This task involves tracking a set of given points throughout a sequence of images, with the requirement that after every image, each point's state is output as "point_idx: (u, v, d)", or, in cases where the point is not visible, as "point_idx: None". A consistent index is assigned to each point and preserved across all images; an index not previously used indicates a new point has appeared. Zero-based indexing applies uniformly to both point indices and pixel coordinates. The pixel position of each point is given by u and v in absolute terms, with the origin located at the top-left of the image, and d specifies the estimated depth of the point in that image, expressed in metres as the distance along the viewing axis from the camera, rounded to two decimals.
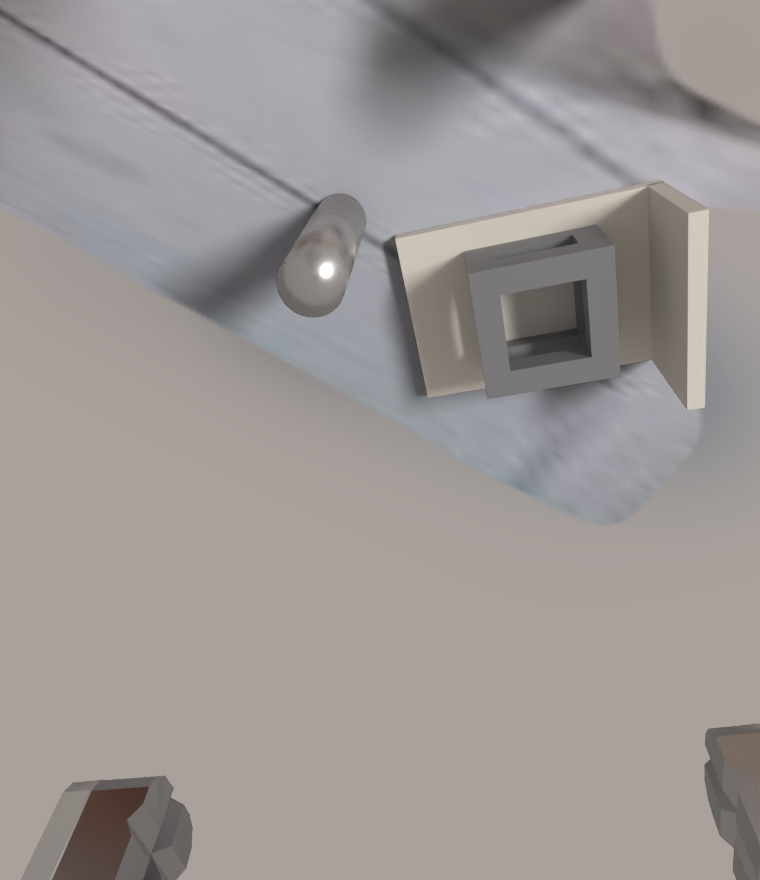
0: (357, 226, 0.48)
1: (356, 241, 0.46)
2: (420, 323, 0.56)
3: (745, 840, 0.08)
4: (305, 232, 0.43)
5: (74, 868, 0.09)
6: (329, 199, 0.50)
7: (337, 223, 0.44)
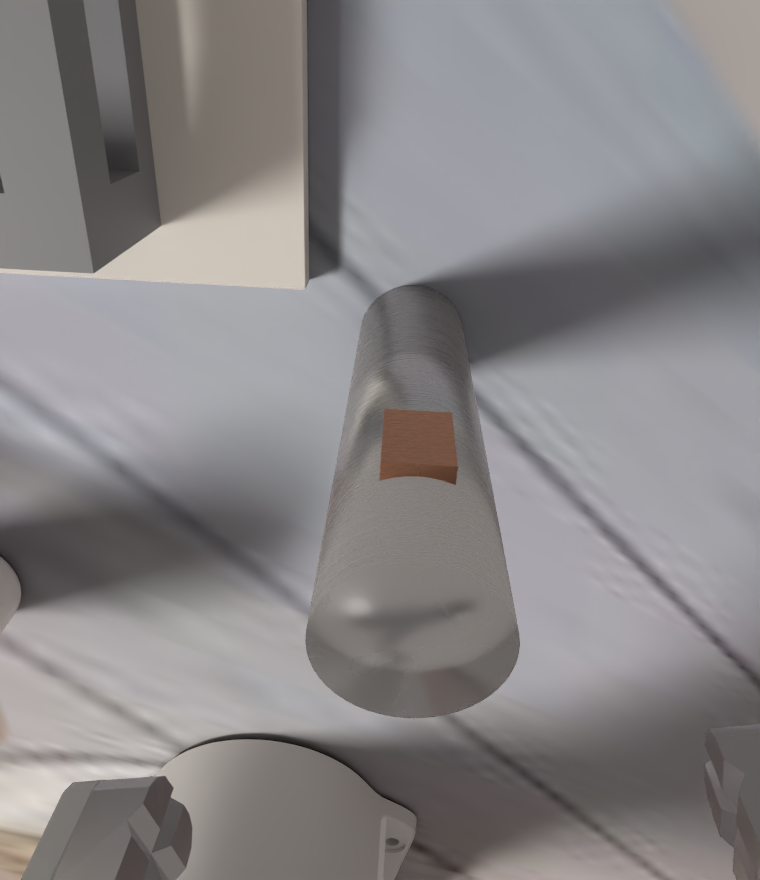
0: None
1: None
2: (281, 62, 0.21)
3: (745, 840, 0.08)
4: None
5: (74, 868, 0.09)
6: None
7: None
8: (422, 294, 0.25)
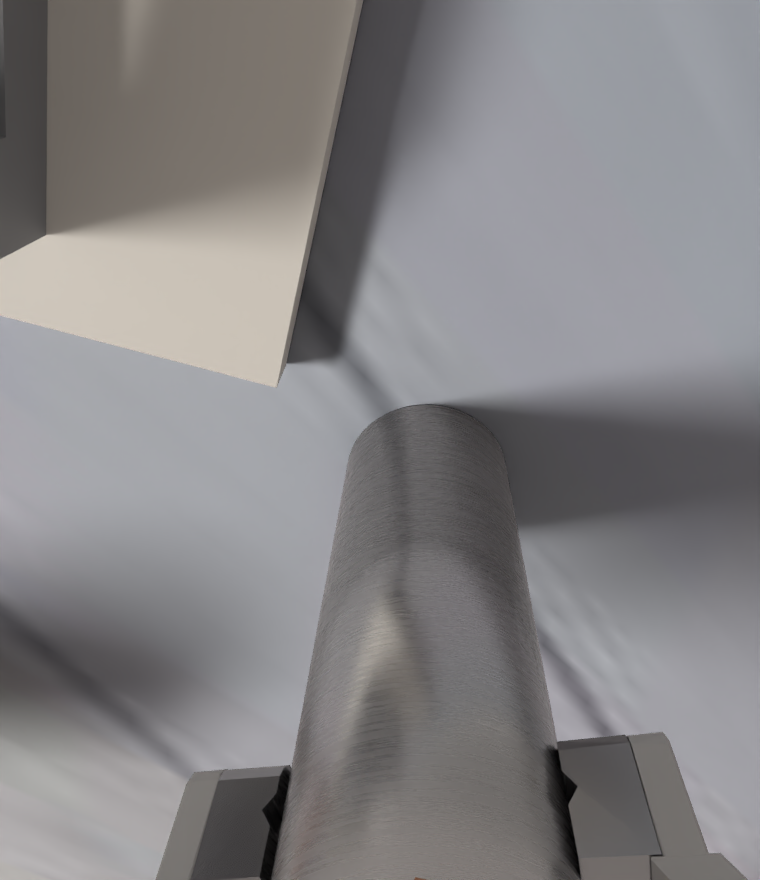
0: None
1: (298, 731, 0.10)
2: None
3: None
4: None
5: (215, 859, 0.09)
6: None
7: None
8: (462, 431, 0.15)
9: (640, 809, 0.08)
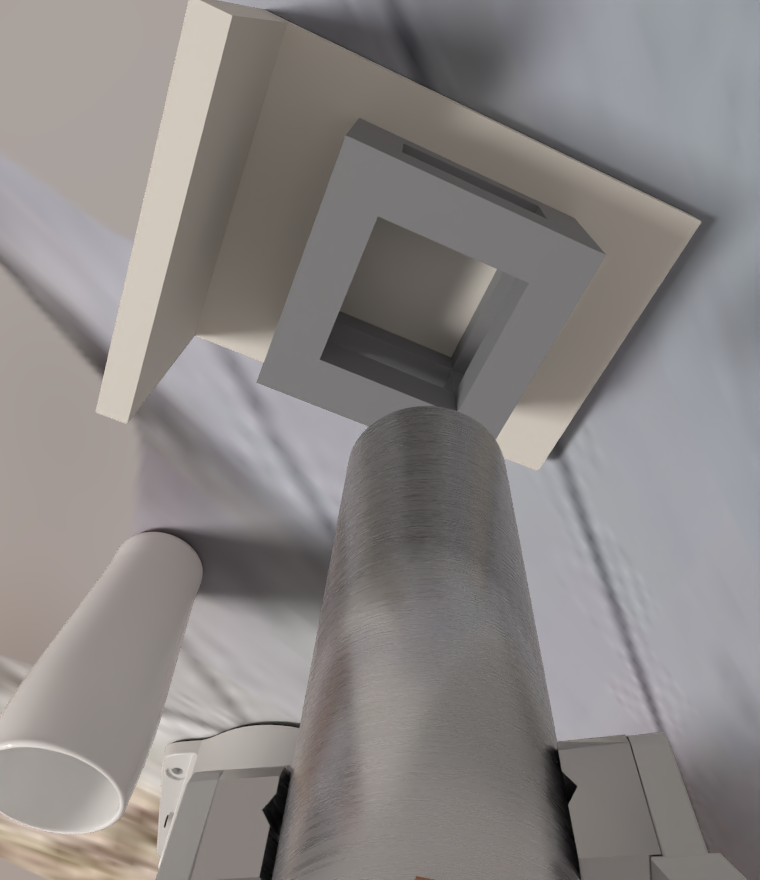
0: None
1: (299, 731, 0.10)
2: (601, 351, 0.32)
3: (575, 850, 0.09)
4: None
5: (214, 859, 0.09)
6: None
7: None
8: (462, 432, 0.15)
9: (640, 809, 0.08)
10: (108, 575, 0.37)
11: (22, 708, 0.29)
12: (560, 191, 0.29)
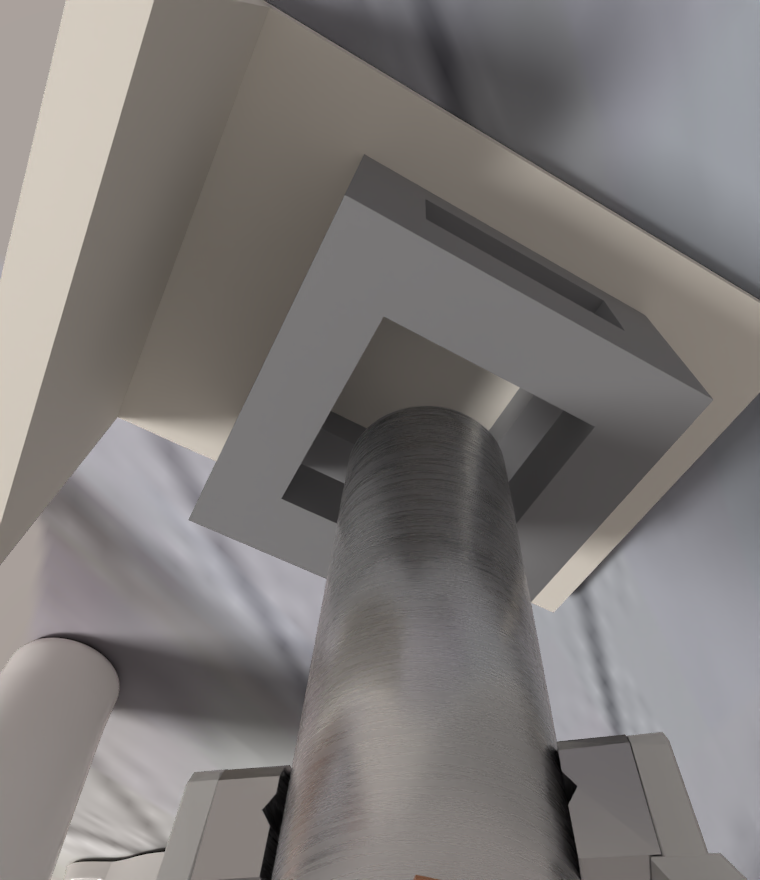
0: None
1: (299, 730, 0.10)
2: (655, 481, 0.25)
3: (575, 850, 0.09)
4: None
5: (215, 859, 0.09)
6: None
7: None
8: (462, 432, 0.15)
9: (640, 809, 0.08)
10: None
11: None
12: (631, 279, 0.21)
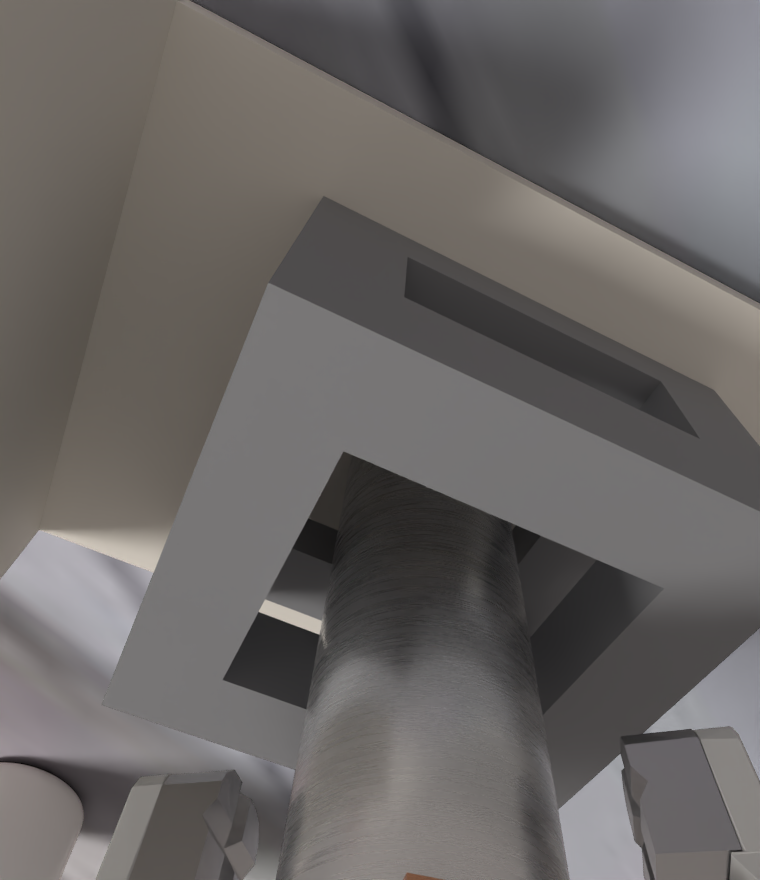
0: None
1: (302, 733, 0.11)
2: None
3: (646, 846, 0.08)
4: None
5: (151, 864, 0.09)
6: None
7: None
8: None
9: (715, 804, 0.08)
10: None
11: None
12: (695, 345, 0.15)
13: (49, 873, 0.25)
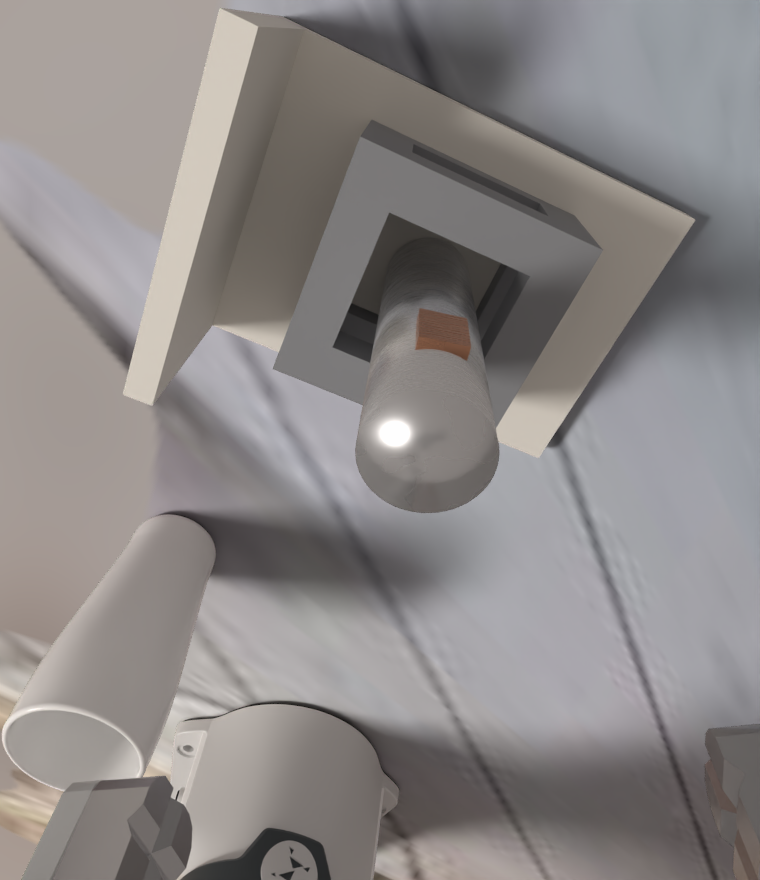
0: None
1: None
2: (599, 343, 0.34)
3: (745, 840, 0.08)
4: None
5: (74, 868, 0.09)
6: None
7: None
8: (443, 245, 0.31)
9: None
10: (127, 554, 0.39)
11: (49, 674, 0.31)
12: (561, 190, 0.30)
13: (203, 572, 0.41)
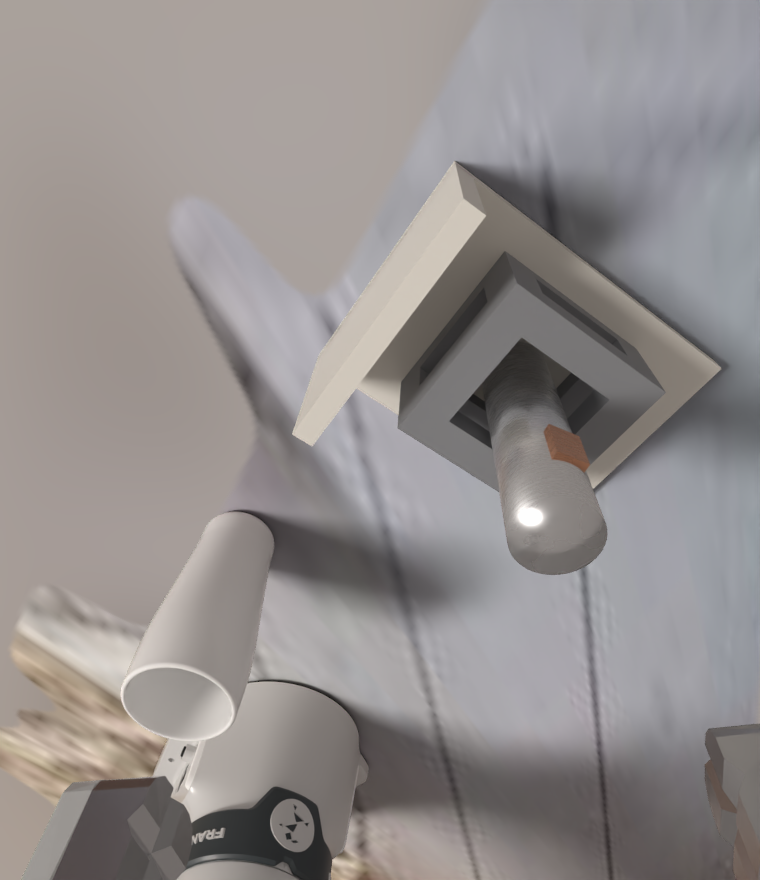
0: (488, 406, 0.37)
1: (495, 422, 0.34)
2: (630, 442, 0.43)
3: (745, 840, 0.08)
4: None
5: (74, 868, 0.09)
6: None
7: None
8: (535, 352, 0.40)
9: None
10: (212, 543, 0.46)
11: (169, 639, 0.38)
12: (631, 328, 0.40)
13: (268, 566, 0.48)
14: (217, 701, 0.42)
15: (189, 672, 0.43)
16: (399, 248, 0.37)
